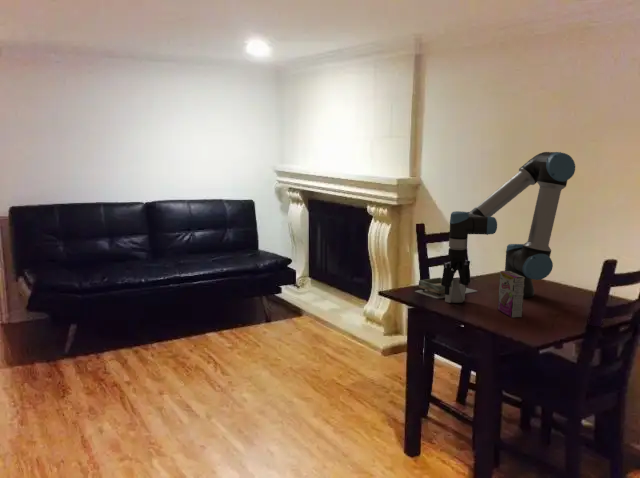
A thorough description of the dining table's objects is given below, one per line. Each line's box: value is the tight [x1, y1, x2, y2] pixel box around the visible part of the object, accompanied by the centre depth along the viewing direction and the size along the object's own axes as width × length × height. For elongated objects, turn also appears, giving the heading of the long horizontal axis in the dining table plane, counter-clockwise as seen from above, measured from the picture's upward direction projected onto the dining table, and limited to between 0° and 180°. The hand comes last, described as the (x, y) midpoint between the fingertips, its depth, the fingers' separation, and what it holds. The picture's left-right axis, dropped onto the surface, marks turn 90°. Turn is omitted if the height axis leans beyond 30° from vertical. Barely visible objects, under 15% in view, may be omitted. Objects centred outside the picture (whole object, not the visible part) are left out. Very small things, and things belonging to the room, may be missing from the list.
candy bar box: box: [497, 270, 525, 319], centre depth 230 cm, size 11×5×16 cm, turn 12°
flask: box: [451, 277, 464, 304], centre depth 247 cm, size 7×7×10 cm
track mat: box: [414, 287, 478, 300], centre depth 265 cm, size 14×26×1 cm, turn 123°
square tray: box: [418, 277, 461, 296], centre depth 262 cm, size 13×13×5 cm
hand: (454, 300), depth 248 cm, fingers closed on flask, 8 cm apart
